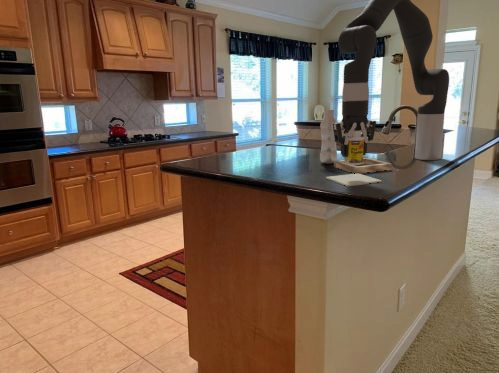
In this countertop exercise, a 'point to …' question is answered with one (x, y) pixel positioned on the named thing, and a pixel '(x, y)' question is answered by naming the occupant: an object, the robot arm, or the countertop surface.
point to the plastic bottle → (328, 138)
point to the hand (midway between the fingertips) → (353, 155)
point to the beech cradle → (370, 166)
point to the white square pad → (353, 179)
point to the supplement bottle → (355, 149)
